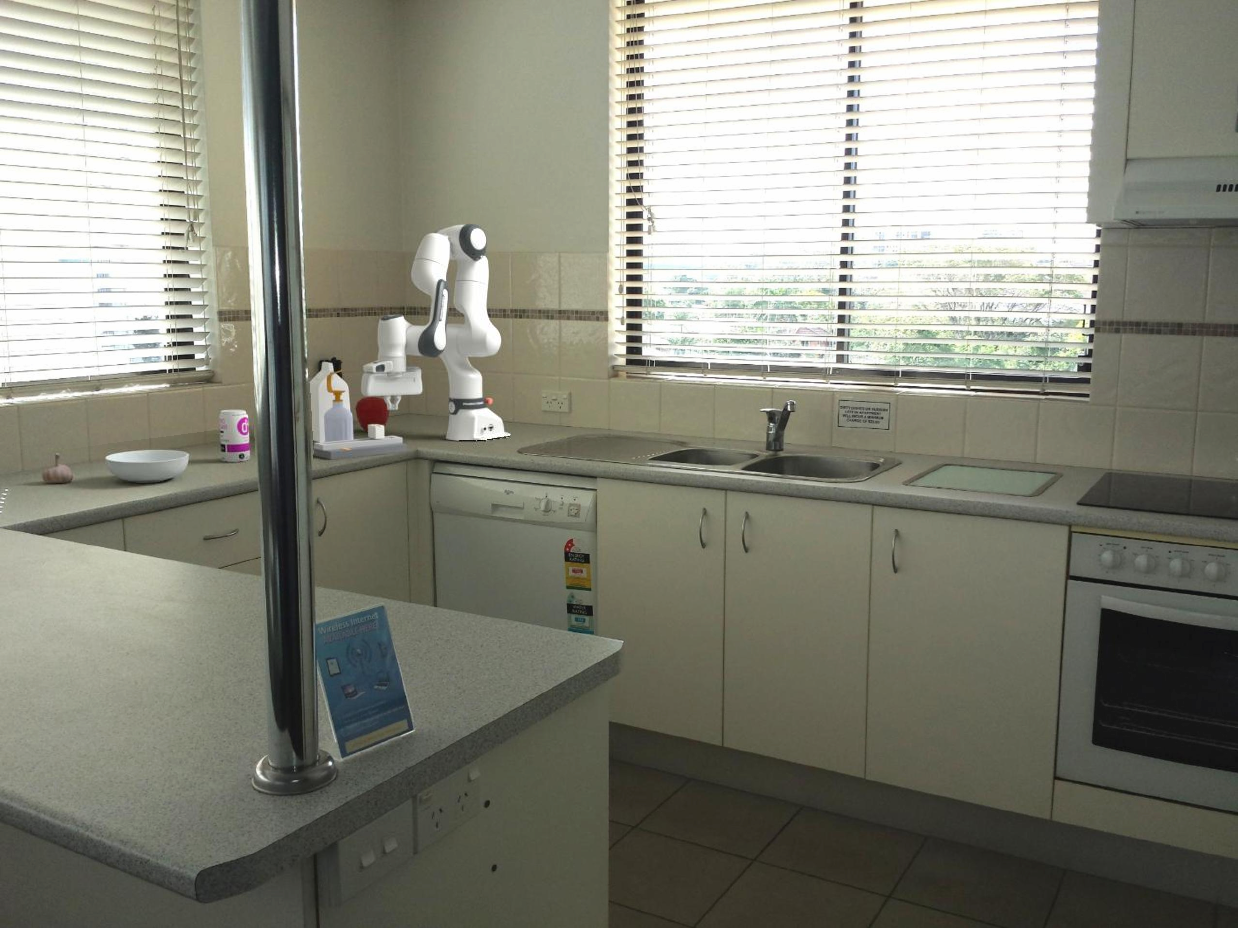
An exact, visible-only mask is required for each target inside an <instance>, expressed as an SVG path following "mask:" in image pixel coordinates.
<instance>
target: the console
mask: <svg viewBox="0 0 1238 928" xmlns="http://www.w3.org/2000/svg"><path fill="white" fill-rule="evenodd" d="M403 441H404V440H403V437H401V436H397V435H388V436H385V435H384V438H382V439H376V440H371V438H369V437H363V438H353V439H352V440H341V441H331V442H314V443H313V445H312V446H313V450H314V455H313V456H315V457H319V458H323V459H328V460H339V459H340V460H341V459H343V460H344V459H351V458H359V457H371V456H380V455H388V454H389V455H390V454H399V453H407V452H408V444H407V443H403Z"/></svg>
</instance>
